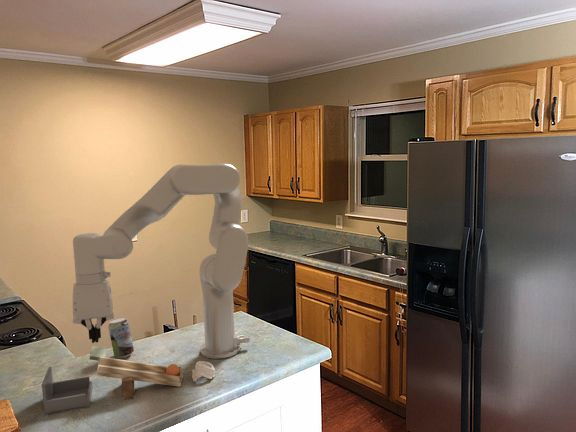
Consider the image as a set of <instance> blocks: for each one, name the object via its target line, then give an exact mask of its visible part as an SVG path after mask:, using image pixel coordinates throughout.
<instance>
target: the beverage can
mask: <svg viewBox="0 0 576 432" xmlns="http://www.w3.org/2000/svg"><path fill="white" fill-rule="evenodd" d="M107 328H108V332H109V337H110V342H111V347H112V348H111V349H112V351H113V356H114V357H115V358H116V359H122V358H126V357H129V356H131V355H132V354H133V352H134V351H135V350H134V349H135V348H134V345H133V339H132V338H133V337H132V333H131V329H130V324H129V321H128V320H127V318H126V317H120V318H115V319H111V320H109V324H108V327H107Z"/></svg>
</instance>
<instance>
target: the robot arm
mask: <svg viewBox="0 0 576 432" xmlns="http://www.w3.org/2000/svg"><path fill="white" fill-rule="evenodd" d="M240 182H241V175H240V172H239V170H238V169H237V168H236V167H235V166H233V165H232V164H229V163H211V164H176V165H174V166H172V167H171V168H170V169H169V170H168V171H166V172H165V173H164V175H162V176H161V178H159V180H157V182H156V183H154V185H152V186H151V188H150V189H148V191H147V192H146V193H145V194H143V196H141V198H139V199H138V200H136V201H135V203H134V204H132V206H130V207H129V208H128V209H126V210H125V211H123V213H122V214H121V215H120V216H119V217H117V219H116V220H115V221H114V222H113V223H112V224H111V225H110V226H108V228H107V229H105V231H104V232H103V235H101V234H99V233H95V232H94V233H91V232H90V233H89V232H88V233H81V234H77V235H75V236H74V237H73V240H72V247H73V248H72V249H73V260H74V272H75V282H74V283H73V286H72V287H73V289H72V316H73V319H72V323H73V324H74V325H75V324H76V325H82V326H84V327H85V328H86V329H87V330H88V339H89V340H91V343H92V344H95V343H97V344H98V343H99V341H100V340H99V339H102V333H101V332H102V331H101V330H102V329H101V327H102V326H103V325H104V324H105V323H106V322H107V321H112V320H114V318H115V314H114V312H113V309H114V308H113V297H112V292H111V291H112V290H111V289H112V288H111V285H110V282H109V279H107V278H111V272H108V271H106V269H105V260H122V259H125V258H127V257H129V256H130V254H132V251H133V250H134V242H133V239H135V237H136V236H137V235H138V234H139V233H140V232H142V230H144V229H146V227H148V226H150V225H151V224H155V223H157V222H158V221H159V222H160V221H161V220H163V219H164V218H165V217H166V216H167V215H168V214H169V212H171V211H172V210H173V209H174V207H175V206H176V205H178V203H179V202H181V201H182V199H183V198H185V196H188V195H189V196H192V195H193V196H196V195H197V196H198V195H200V196H202V195H213V199H214V207H213V215H212V219H211V225H210V229H209V233H208V234H209V235H208V240H209V241H208V242H209V243H210V245H211V246H212V247H213V248H214V249H215V250H216V253H211V254H208V255H207V256H205V257H204V258H203V259H202V260H201V263H200V266H199V279H200V284H201V286H200V287H201V291H202V292H201V293H202V304H203V305H202V306H203V307H202V308H203V311H202V312H203V323H204V324H203V325H204V326H203V327H204V328H203V329H204V344H203V345H202V346H201V347H200V354H201V355H202V357H205V358H207V359H215V360H217V359H227V358H230V357H233V356H235V355H237V354H238V353H239V352H240V350H241V344H246V343H250V340H251V339H250V336H245V335H244V334H242V335H241V334H240V335H236V334H235V313H234V312H235V311H234V309H235V307H234V293H233V291H234V290H235V289H236V288H237V287H239V285H240V284H241V283H240V282H242V279H243V274H244V270H245V266H246V259H247V255H248V251H249V250H248V249H249V237H248V234H247V231H246V230H245V229H244V228H243V227H242V226H240V223H241V215H242V208H243V198H242V193H241V190H240V188H239V185H240ZM93 319H96V323H95V325H94V324H93Z"/></svg>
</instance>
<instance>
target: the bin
mask: <svg viewBox="0 0 576 432" xmlns="http://www.w3.org/2000/svg"><path fill="white" fill-rule="evenodd" d="M53 378H54V377H53V370H52V366H48V368H47V370H46V373H45V376H44V378H43V380H42V382H41V383H42V384H41V390H42V391H41V393H42V400H43V409H44V415H45V416H47V415H46V414H48V415H53V414H59V413H65V412H70V411H75V409H76V410H80V409H86V408H90V406H91V400H92V394H93V388H94V386H93V381H92V380H91V381H90V379H91V378H90V376H84V377H77V378H72V379H64V380H59V381H58V380H57V381H53ZM69 410H70V411H69Z"/></svg>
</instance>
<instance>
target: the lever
mask: <svg viewBox="0 0 576 432" xmlns="http://www.w3.org/2000/svg"><path fill="white" fill-rule="evenodd" d="M107 350H108V349H107V347H101V346H95V345H92V346H91V349H90V355H89V360H90V361H91V360H92V361H98V364H97V370H96V376H99V377H106V378H113V379H121V380H122V379H125V378H131V377H132V380H134V382H143V383H151V384H158V385H165V386H171V387H172V386H173V387H181V386H182V382H183V378H184V374H183V369H182V366H178V367H179V374H178V375H177V376H172V375H167V374H166V369H167V367H168V366H165V365H158V364H151V363H146V362H140V361H139V362H138V361H133V360H132V361H131V360H125V359H121V358H113V357H106V356H107Z"/></svg>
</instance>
